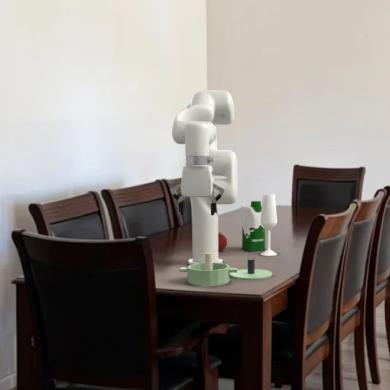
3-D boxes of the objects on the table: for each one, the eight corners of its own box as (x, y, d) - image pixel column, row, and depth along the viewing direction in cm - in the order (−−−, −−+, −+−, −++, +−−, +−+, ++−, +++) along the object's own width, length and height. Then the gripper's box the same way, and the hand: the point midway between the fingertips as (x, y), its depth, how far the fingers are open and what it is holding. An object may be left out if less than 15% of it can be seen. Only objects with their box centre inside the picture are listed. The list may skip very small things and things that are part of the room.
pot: (184, 278, 265) (183, 262, 265) (239, 278, 265) (239, 262, 265) (176, 287, 252) (176, 270, 251) (234, 287, 252) (234, 270, 252)
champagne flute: (258, 253, 312) (258, 193, 310) (274, 252, 315) (274, 192, 312) (262, 256, 306) (262, 195, 304) (279, 255, 309) (279, 194, 306)
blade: (203, 278, 263) (203, 250, 262) (218, 278, 263) (218, 250, 262) (199, 284, 254) (199, 255, 253) (214, 284, 255) (214, 255, 253)
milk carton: (248, 252, 314) (248, 202, 312) (238, 248, 322) (238, 200, 320) (268, 250, 319) (268, 201, 317) (257, 246, 327) (257, 199, 324)
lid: (232, 272, 276) (232, 254, 275) (273, 272, 276) (273, 255, 275) (227, 281, 262) (227, 262, 261) (270, 281, 262) (270, 263, 261)
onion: (226, 252, 313) (226, 232, 312) (212, 252, 312) (212, 232, 311) (227, 250, 318) (227, 230, 318) (213, 250, 318) (213, 230, 317)
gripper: (226, 160, 252) (226, 213, 254) (172, 160, 252) (173, 213, 254) (222, 162, 245) (223, 216, 247) (167, 161, 245) (168, 216, 247)
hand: (197, 214), depth 250 cm, fingers open, 9 cm apart
